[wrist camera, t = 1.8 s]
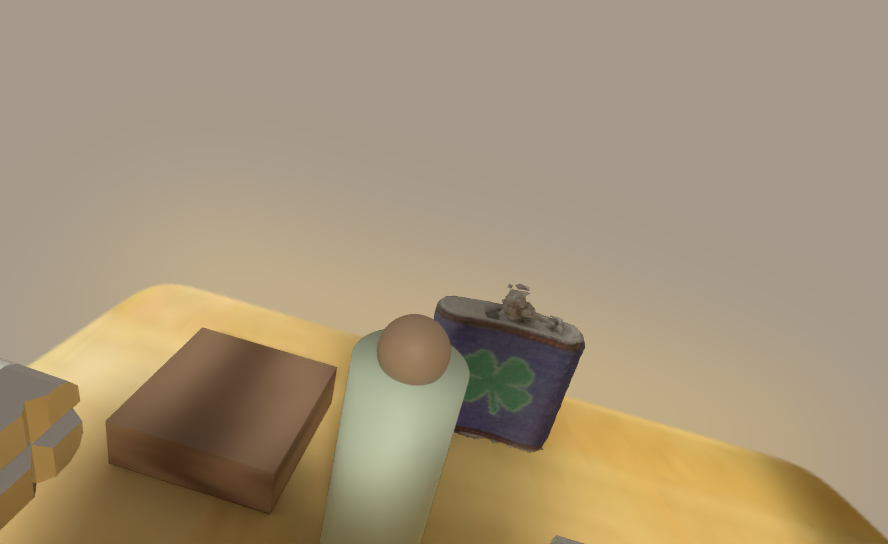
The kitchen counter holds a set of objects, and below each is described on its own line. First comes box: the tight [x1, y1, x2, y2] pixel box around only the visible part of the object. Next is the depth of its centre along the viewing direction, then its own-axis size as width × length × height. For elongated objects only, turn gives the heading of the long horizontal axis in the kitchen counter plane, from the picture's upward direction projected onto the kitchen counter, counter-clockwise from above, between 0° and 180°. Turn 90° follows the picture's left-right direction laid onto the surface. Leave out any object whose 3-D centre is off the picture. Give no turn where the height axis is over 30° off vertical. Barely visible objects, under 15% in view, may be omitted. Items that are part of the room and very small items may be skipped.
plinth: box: [106, 327, 337, 514], centre depth 34 cm, size 9×9×3 cm
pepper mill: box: [319, 314, 470, 544], centre depth 25 cm, size 5×5×15 cm
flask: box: [434, 284, 585, 453], centre depth 37 cm, size 9×3×11 cm, turn 82°
